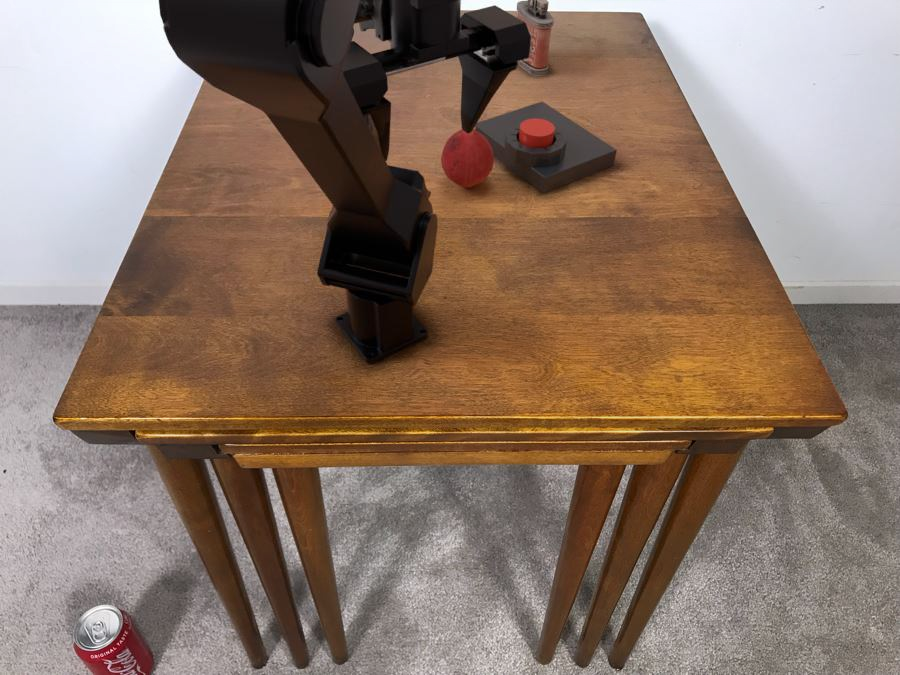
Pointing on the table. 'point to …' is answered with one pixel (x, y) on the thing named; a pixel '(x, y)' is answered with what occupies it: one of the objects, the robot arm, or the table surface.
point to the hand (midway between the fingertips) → (425, 144)
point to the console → (546, 148)
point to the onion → (467, 158)
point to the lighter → (536, 34)
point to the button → (536, 133)
